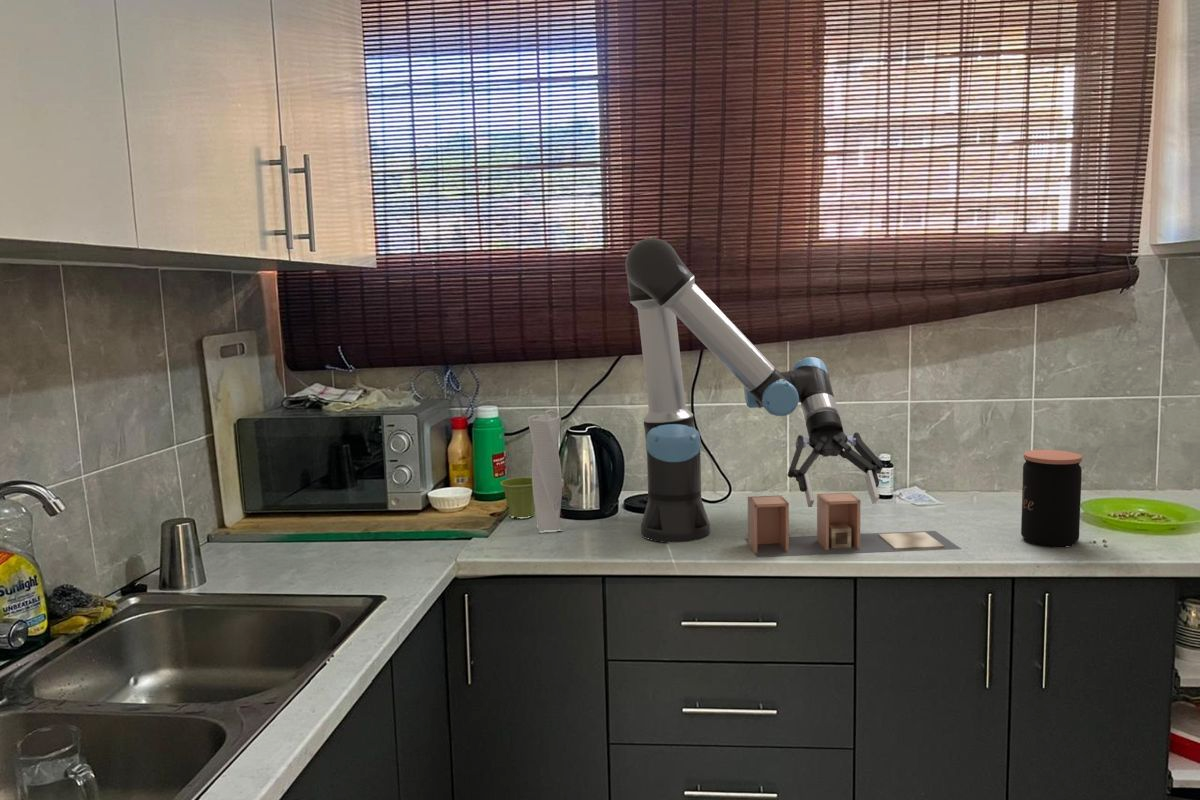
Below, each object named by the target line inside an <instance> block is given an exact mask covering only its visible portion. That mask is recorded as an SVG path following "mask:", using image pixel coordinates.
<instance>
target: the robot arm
mask: <svg viewBox="0 0 1200 800" xmlns="http://www.w3.org/2000/svg"><path fill="white" fill-rule="evenodd" d="M625 273H626V277H627V287H628V294H629V295H628V296H629V303H630V304H632V306H633V307H635V308H636V310H637V317H638V324H639V325H638V326H639V333H640V334H639V335H640V341H641V342H640V343H641V344H640V345H641V353H642V359H643V360H642V361H643V370H644V377H645V388H646V397H647V406H648V413H646V415H645V416H644V418H643V420H642V421H643V429H644V437H645V451H646V463H647V467H646V468H647V497H648V498H647V503H646V506H645V509H644V512H643V513H644V514H643V517H642V519H641V524H640V534H642V535H643V536H644V537H646V538H649V539H652V540H656V541H655V542H657V541H663V542H662V543H665V542H668V543H685V542H687V543H688V542H693V541H694V542H695V541H698V540H702V539H705V538H706V537H708V536H710V534H711V524H710V520H709V517H708V515H707V512H706V509H705V506H704V503H703V500H702V474H701V473H702V471H701V470H702V467H701V466H702V465H701V464H702V463H701V462H702V461H701V448H702V441H701V436H700V431H698V429H696V428H695V419H694V413H692V412H691V411H690V410H689V409H687V407H686V406H687V405H686V396H685V387H684V380H683V371H682V368H683V367H682V360H681V351H680V340H679V331H678V324H677V323H678V322H677V321H678V320H677V318H678V319H679V320H680V321H681V322H682V323H683V324H684V325H685V326H686V327H687V329H688V330H690V332H691V333H692V334H693V335H694V336H695V337H696V338H697V339H698V340H699V341H700V342H701V343H702V344H703V346H705V347H706V348H707V350H709V351H710V353H712V355H714V356H715V358H716V359H717V360H718V361H719V362H721V364H722V365H723V366H724V367H725V368H726V369H727V370H728V371H729V372H730V373H731V374H732V375H733V376H734V378H736V379H737V380H738V381H739V382H740V384H741V385H743V392H744V400H745V403H746V405H747V407H748V408H750V409H753V408H754V409H756V408H758V409H761V408H764V409H765V411H766V412H767V413H769V415H772V416H776V417H786V416H789V415H791V414H792V413H793V412H794V411H795V410H796V409H797V407H798V404H799V403H800V406H801V409H802V413H803V418H804V421H805V426H806V430H807V431H806V432H807V435H808V437H803V435H802V434H799V435H797V438H796V441H795V452H794V454H793V457H792V460H791V463H790V466H789V469H788V472H787V477H788V478H791V479H792V478H795V480H796V482H797V483H798V488H799V490H800V492H804V494H805V499H806V503H807V506H808V508H812V507H813V505H814V502H815V496H814V493H813V489H812V484H811V480H810V477H809V473H807V472H808V471H809V469H810V467H812V465H813V464H814V463H815V461H816V460H817V459H818V458H819V456H822V457H838V456H840V457H841V458H843V459H846V460H848V461H849V462H850V463H852V464H853V465H854V466H856V467H857V469H860V470H861V471H862V472H863V473H865V476H864V477H865V481H866V486H867V490H868V492H869V496H870V500H871V503H872V504H873V505H874V504H875V505H876V504H877V502H878V500H879V499H880V494H879V492H878V488H879V485H880V480H879V477H878V474H880V473H882V470H883V468H884V463H883V462H882V461H881V460H880V459H879V457H877V455H876V454H875V453H874V452H873V451H872V450H871V449H870V447H868V445H867V444H866V443H865V442H864V441H863V439H862V437H861V435H860V433H859V432H854V434H853V435H847V434H845V432H844V427H843V425H842V420H841V417H840V413H839V412H840V411H839V409H838V405H837V402H836V398H835V395H834V392H833V391H834V390H833V387H832V384H831V379H830V375H829V372H828V370H827V367H826V364H825V362H824V361H823V360H822V359H820V358H817V357H805V358H804V359H799V360H798V361H797V362H795V363H794V365H793V368H792V370H788V371H779V370H778V369H776V367H775V366H774V365H773V363H771V361H769V359H767V358H766V357H765V355H764V354H763V353H762V352H761V351H760V350H759V348H757V347H756V346H755V345H754V344H753V343H752V342H751V341H750V340H749V338H747V336H746V335H744V333H743V332H742V331H741V329H739V328H738V326H736V324H734V323H733V321H731V320H730V318H729V317H727V315H726V314H725V313H724V312H723V311H722V310H721V309H720V308H719V307H718V306H717V305H716V304H715V303H714V302H713V301H712V300H711V298H710V297H709V296H708V295H707V294H706V293H705V292H704V291H703V290H702V289H701V288H700V287H699V286H698V285H697V284H696V283H695V275H694V274H693V272H691V270H690V269H689V268H688V267H687V266H686V265H685V264H684V262H683V261H682V260H681V258H680V257H679V255H678V254H677V252H676V250H675V249H674V248H673V246H672V245H671V244H670V243H668V242H666V241H665V240H664V239H660V238H655V237H649V238H645V239H641V240H639V241H638V242H636V243H635V244H634V245H633V246H632V247H631V248H630V250H629V251H628V253H627V255H626V259H625ZM848 443H849V444H850V445H849V444H848ZM807 445H809V446H810V448H812V451H811V453H810V454H809V455H808V457H807V458H806V459H805V461H804V462H803V463H802V465H801V466H800V468H799V469H797V467H798V463H799V460H800V458H801V454H802V451H803V449H804V448H806V447H807ZM851 446H852V447H853V449H855V450H856V451H855V450H853V449H852V447H851ZM642 535H641V536H642ZM643 536H642V537H643ZM644 537H643V538H644ZM646 538H645V539H646ZM649 539H648V540H649ZM652 540H651V541H652Z"/></svg>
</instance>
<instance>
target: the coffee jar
mask: <svg viewBox="0 0 1200 800" xmlns="http://www.w3.org/2000/svg"><path fill="white" fill-rule="evenodd" d="M1023 459H1024V461H1025V462H1024V463H1023V465H1022V488H1021V489H1022V490H1021V492H1022V493H1021V495H1022V496H1021V521H1020V522H1021V524H1020V535H1021V536H1022V538H1023V540H1024V541H1025V542H1027V543H1029V544H1031V545H1036V546H1039V547H1044V546H1045V548H1053V547H1063V548H1067V547H1066V546H1070V547H1073V546H1074V544H1075V545H1076V543H1078V541H1079V539H1080V525H1081V521H1080V520H1081V519H1080V518H1081V502H1082V501H1081V498H1082V497H1081V496H1082V474H1083V472H1082V467H1081V465H1080V464H1081V462H1082V461H1083V456H1082V454H1079V453H1076V452H1071V451H1067V450H1058V449H1032V450H1028V451H1027V450H1026V451H1024V452H1023ZM1072 545H1073V546H1072Z"/></svg>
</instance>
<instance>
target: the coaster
mask: <svg viewBox="0 0 1200 800" xmlns="http://www.w3.org/2000/svg"><path fill="white" fill-rule="evenodd" d="M914 532H915V533H892V532H889V533H890V534H878V536H879V537H880V538H881V539H883V540H884V541H885V542H886V543H887V544H889V545H890V546H891V547H892V548H893V549H895V550H905V549H929V548H944V547H945V546H944V545H942V544H941V543H940V542H938V541H937V540H935V539H934V538H933V537H931V536H930V535H928V534H927V533H925V532H917V531H914Z"/></svg>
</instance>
